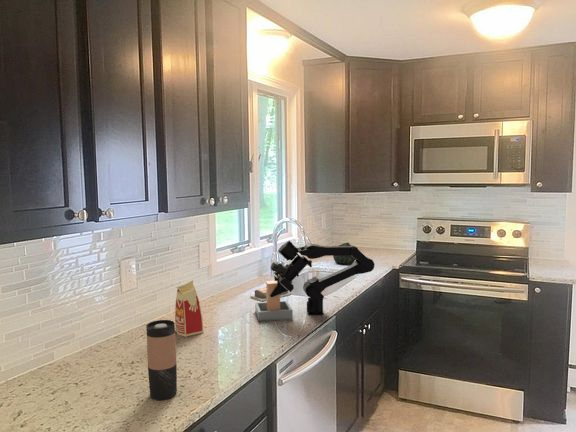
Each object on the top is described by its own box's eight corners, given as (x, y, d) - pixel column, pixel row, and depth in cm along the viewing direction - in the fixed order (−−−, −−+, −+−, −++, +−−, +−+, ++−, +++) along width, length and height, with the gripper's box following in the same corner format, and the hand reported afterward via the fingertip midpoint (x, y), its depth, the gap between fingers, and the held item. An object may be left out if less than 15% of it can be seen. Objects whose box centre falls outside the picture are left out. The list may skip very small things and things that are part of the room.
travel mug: (180, 388, 134) (178, 319, 132) (173, 401, 126) (170, 328, 124) (154, 388, 134) (151, 319, 132) (145, 401, 127) (141, 328, 125)
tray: (286, 309, 208) (286, 300, 208) (292, 319, 194) (292, 310, 194) (255, 311, 206) (255, 302, 205) (258, 321, 192) (258, 312, 191)
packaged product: (278, 282, 240) (291, 286, 232) (278, 292, 241) (291, 295, 233) (249, 288, 229) (261, 292, 221) (249, 298, 229) (262, 302, 221)
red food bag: (194, 326, 188) (192, 277, 186) (204, 332, 180) (203, 281, 178) (172, 331, 182) (170, 280, 180) (182, 337, 175) (180, 284, 173)
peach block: (278, 307, 203) (277, 280, 201) (280, 311, 198) (279, 283, 196) (266, 308, 202) (266, 281, 201) (268, 312, 197) (267, 283, 196)
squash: (332, 252, 318) (334, 238, 306) (354, 253, 317) (357, 239, 306) (333, 270, 308) (335, 255, 297) (355, 270, 308) (358, 256, 297)
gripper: (278, 251, 207) (253, 277, 206) (285, 259, 189) (258, 287, 188) (296, 268, 209) (272, 294, 209) (304, 277, 191) (278, 305, 190)
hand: (269, 294), depth 199 cm, fingers closed on peach block, 5 cm apart
